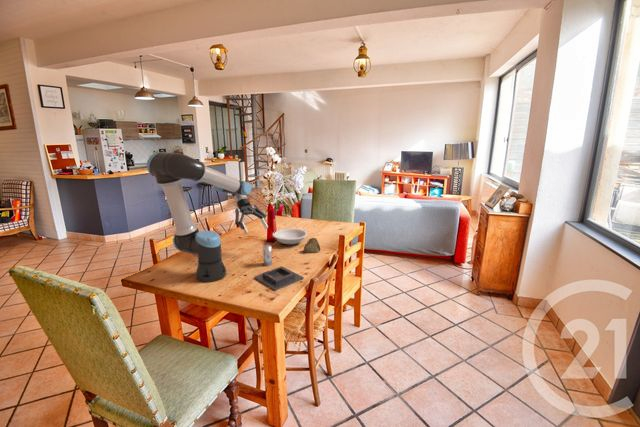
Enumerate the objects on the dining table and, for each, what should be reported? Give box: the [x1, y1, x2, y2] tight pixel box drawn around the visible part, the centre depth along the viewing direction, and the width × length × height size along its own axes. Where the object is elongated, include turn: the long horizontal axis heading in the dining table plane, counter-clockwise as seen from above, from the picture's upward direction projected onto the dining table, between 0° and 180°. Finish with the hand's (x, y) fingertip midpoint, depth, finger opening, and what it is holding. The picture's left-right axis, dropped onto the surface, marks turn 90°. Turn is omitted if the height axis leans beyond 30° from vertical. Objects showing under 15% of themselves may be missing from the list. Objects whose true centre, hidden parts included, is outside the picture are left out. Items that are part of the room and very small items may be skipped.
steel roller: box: [262, 244, 273, 267], centre depth 172 cm, size 5×5×11 cm
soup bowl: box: [272, 228, 308, 245], centre depth 208 cm, size 24×24×7 cm
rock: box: [302, 237, 321, 253], centre depth 193 cm, size 11×9×10 cm
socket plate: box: [254, 266, 305, 292], centre depth 155 cm, size 18×18×3 cm
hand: (257, 230), depth 177 cm, fingers open, 13 cm apart
